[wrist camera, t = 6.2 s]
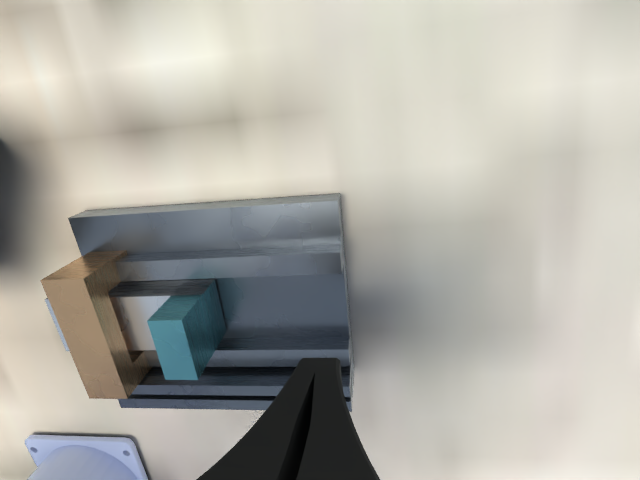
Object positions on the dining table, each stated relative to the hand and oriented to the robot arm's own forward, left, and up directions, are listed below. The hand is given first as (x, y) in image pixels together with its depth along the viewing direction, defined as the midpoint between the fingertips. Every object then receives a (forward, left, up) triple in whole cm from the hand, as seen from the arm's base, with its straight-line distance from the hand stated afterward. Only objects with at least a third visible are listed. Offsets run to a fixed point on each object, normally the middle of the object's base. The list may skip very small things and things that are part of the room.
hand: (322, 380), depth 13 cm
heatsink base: (0, +6, -6) cm, 9 cm away
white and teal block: (0, +10, -5) cm, 11 cm away
